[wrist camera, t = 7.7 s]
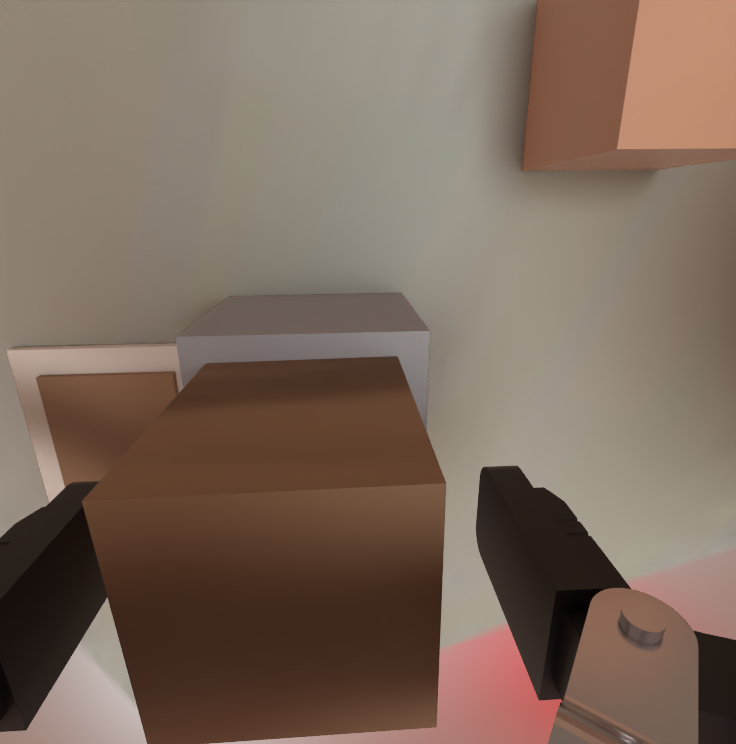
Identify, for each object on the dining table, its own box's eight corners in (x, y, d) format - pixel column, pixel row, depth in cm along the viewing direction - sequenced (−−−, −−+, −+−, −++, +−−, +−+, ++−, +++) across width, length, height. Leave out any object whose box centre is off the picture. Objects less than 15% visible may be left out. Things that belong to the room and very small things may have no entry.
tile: (13, 347, 17) (0, 352, 17) (201, 342, 18) (195, 347, 17) (57, 504, 20) (47, 514, 19) (222, 497, 20) (218, 507, 19)
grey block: (229, 295, 17) (175, 336, 12) (401, 292, 18) (429, 330, 12) (246, 448, 19) (207, 546, 14) (399, 443, 20) (422, 536, 14)
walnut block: (205, 363, 12) (81, 501, 6) (397, 356, 12) (445, 483, 6) (229, 523, 14) (148, 747, 8) (397, 515, 14) (436, 727, 8)
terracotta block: (536, 0, 15) (659, -131, 9) (687, 1, 15) (899, -127, 9) (521, 170, 16) (617, 149, 11) (657, 169, 17) (821, 147, 11)
